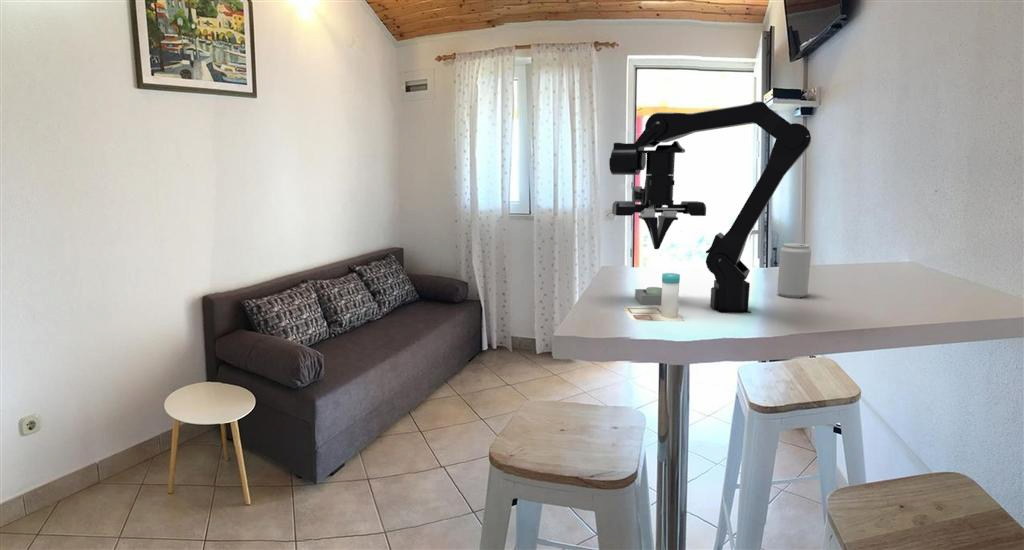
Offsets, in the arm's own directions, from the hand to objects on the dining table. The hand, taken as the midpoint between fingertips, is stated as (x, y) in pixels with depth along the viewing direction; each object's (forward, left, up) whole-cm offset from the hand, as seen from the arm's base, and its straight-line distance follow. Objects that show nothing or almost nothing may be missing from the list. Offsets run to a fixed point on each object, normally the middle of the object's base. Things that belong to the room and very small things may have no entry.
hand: (656, 248), depth 128 cm
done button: (0, 0, -11) cm, 11 cm away
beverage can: (-34, -9, -12) cm, 37 cm away
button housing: (0, 0, -12) cm, 12 cm away
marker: (0, +13, -12) cm, 17 cm away
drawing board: (+3, +11, -12) cm, 17 cm away
